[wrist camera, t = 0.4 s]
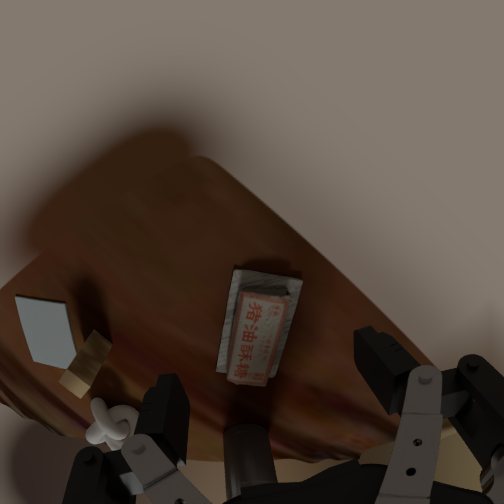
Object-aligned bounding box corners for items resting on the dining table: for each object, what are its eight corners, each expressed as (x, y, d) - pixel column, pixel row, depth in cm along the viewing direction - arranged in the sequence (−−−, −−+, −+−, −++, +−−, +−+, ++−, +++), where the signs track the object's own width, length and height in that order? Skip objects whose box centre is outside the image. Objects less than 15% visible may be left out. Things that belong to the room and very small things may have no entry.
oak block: (112, 344, 41) (90, 386, 31) (102, 357, 42) (80, 398, 31) (94, 329, 40) (67, 368, 29) (84, 342, 41) (58, 382, 30)
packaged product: (278, 391, 41) (215, 386, 40) (273, 372, 46) (215, 367, 45) (310, 289, 37) (234, 278, 35) (300, 276, 41) (233, 266, 40)
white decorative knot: (150, 400, 45) (141, 436, 36) (147, 435, 48) (141, 467, 39) (93, 384, 43) (78, 416, 34) (97, 420, 46) (86, 450, 37)
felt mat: (82, 371, 42) (81, 372, 42) (34, 359, 41) (33, 360, 40) (65, 303, 38) (64, 304, 38) (15, 295, 37) (14, 296, 37)
